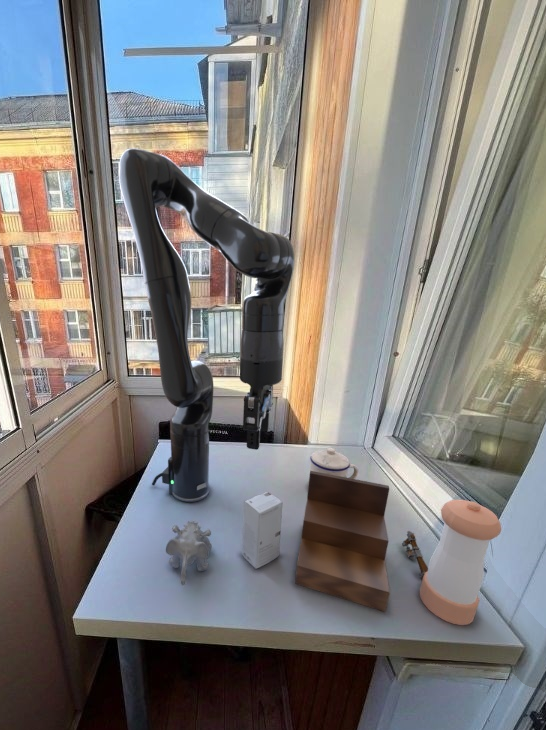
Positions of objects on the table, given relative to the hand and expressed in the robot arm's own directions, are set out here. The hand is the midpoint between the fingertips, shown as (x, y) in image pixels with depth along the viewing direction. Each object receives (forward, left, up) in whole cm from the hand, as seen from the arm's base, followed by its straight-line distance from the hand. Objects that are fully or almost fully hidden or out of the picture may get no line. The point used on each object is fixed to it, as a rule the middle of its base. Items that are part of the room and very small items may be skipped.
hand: (258, 438), depth 64 cm
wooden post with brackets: (+30, +3, -22) cm, 37 cm away
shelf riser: (+17, -3, -22) cm, 28 cm away
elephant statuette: (-8, -14, -22) cm, 27 cm away
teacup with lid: (+15, +22, -22) cm, 35 cm away
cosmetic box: (+3, -6, -22) cm, 23 cm away
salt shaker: (+33, -4, -22) cm, 40 cm away
